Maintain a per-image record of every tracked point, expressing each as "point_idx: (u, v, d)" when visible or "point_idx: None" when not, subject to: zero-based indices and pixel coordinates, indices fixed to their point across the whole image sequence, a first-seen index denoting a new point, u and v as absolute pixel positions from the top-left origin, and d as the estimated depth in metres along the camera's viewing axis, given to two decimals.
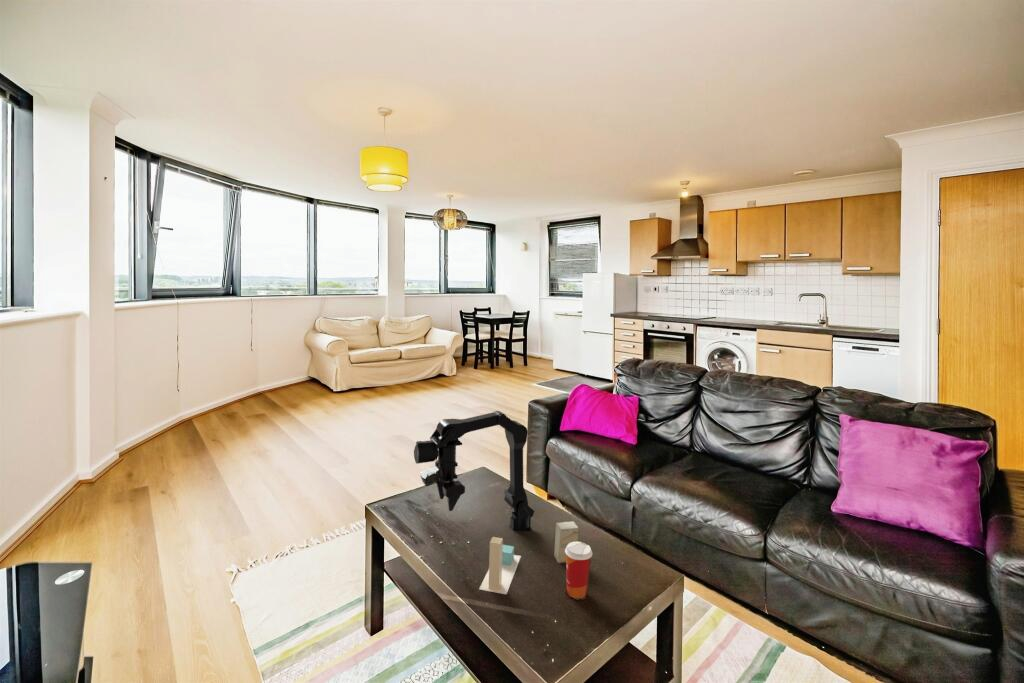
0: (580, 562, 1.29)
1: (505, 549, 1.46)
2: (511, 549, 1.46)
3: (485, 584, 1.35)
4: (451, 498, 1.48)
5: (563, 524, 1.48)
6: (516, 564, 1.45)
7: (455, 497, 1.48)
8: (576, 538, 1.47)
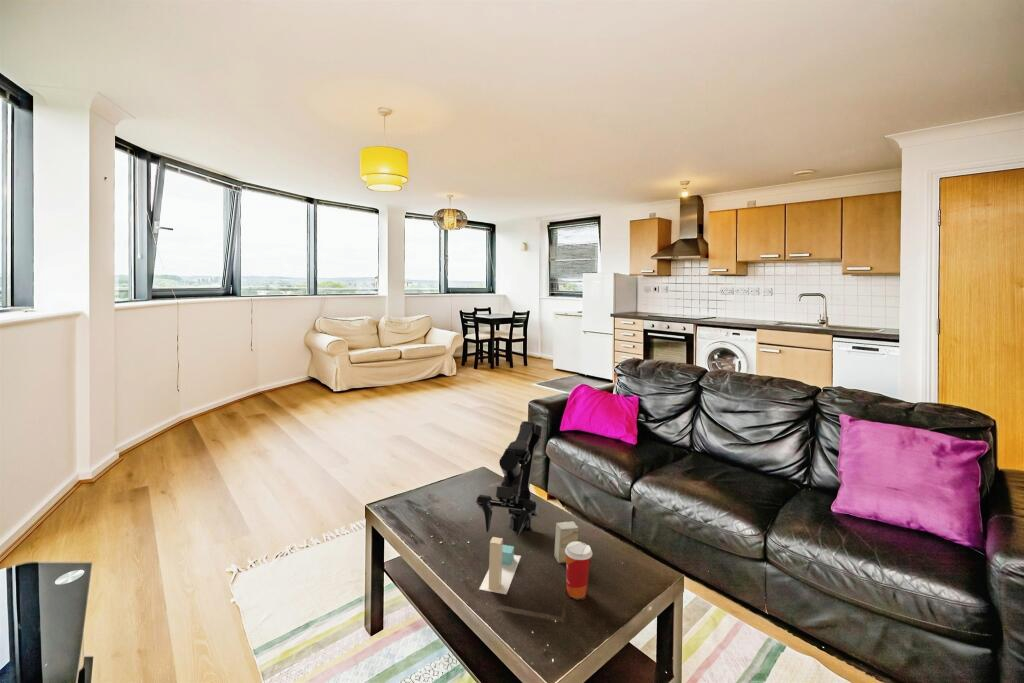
0: (580, 562, 1.29)
1: (505, 549, 1.46)
2: (511, 549, 1.46)
3: (485, 584, 1.35)
4: None
5: (563, 524, 1.48)
6: (516, 564, 1.45)
7: (524, 521, 1.41)
8: (576, 538, 1.47)
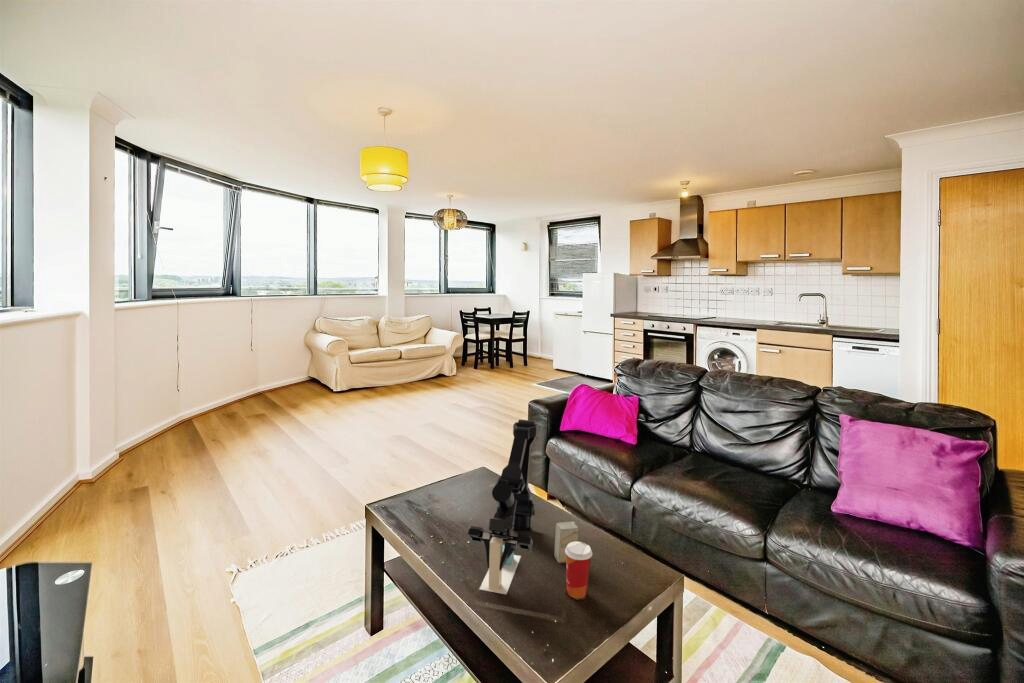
0: (580, 562, 1.29)
1: None
2: None
3: (485, 584, 1.35)
4: None
5: (563, 524, 1.48)
6: (516, 564, 1.45)
7: (508, 553, 1.35)
8: (576, 538, 1.47)
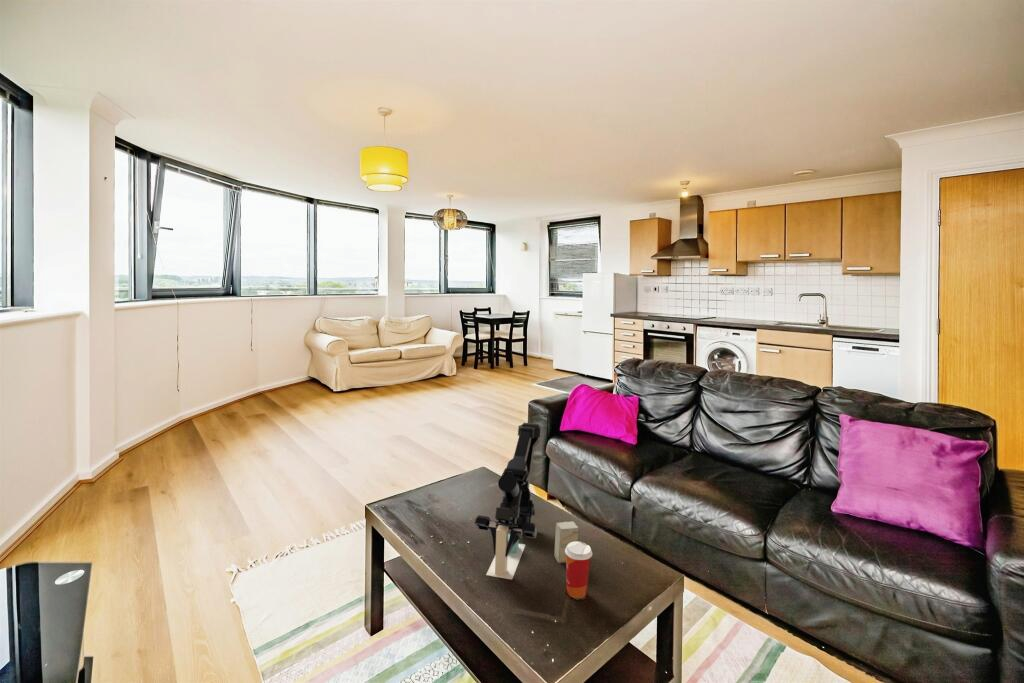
0: (580, 562, 1.29)
1: None
2: None
3: (492, 570, 1.41)
4: (512, 540, 1.41)
5: (563, 524, 1.48)
6: (521, 552, 1.52)
7: (514, 541, 1.42)
8: (576, 538, 1.47)
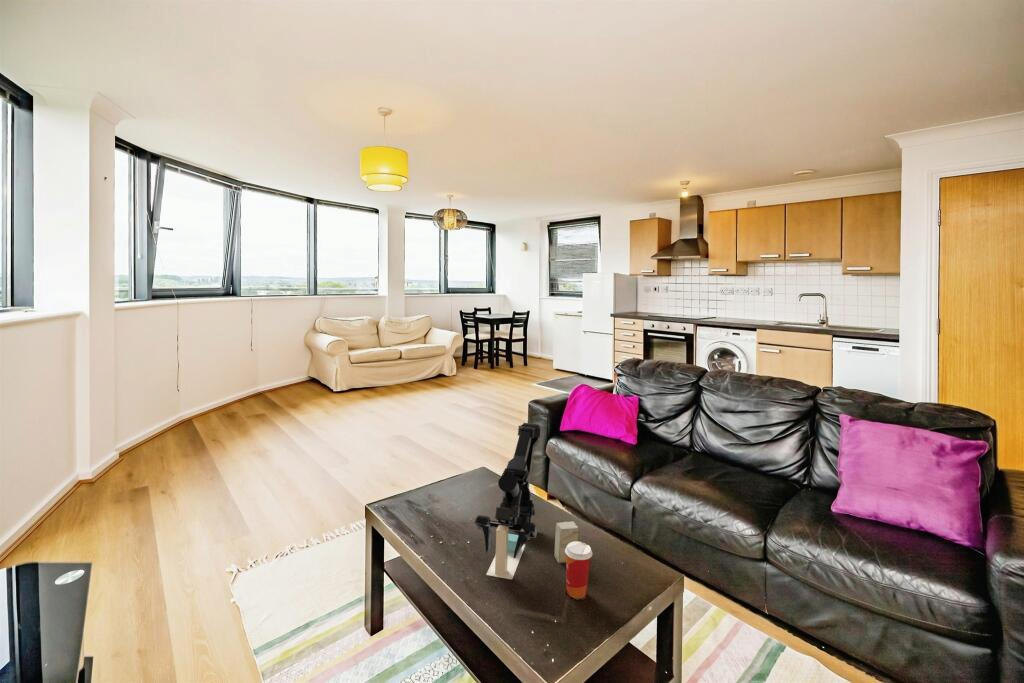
0: (580, 562, 1.29)
1: (510, 537, 1.53)
2: (516, 538, 1.53)
3: (492, 570, 1.41)
4: None
5: (563, 524, 1.48)
6: (521, 552, 1.52)
7: (522, 542, 1.41)
8: (576, 538, 1.47)
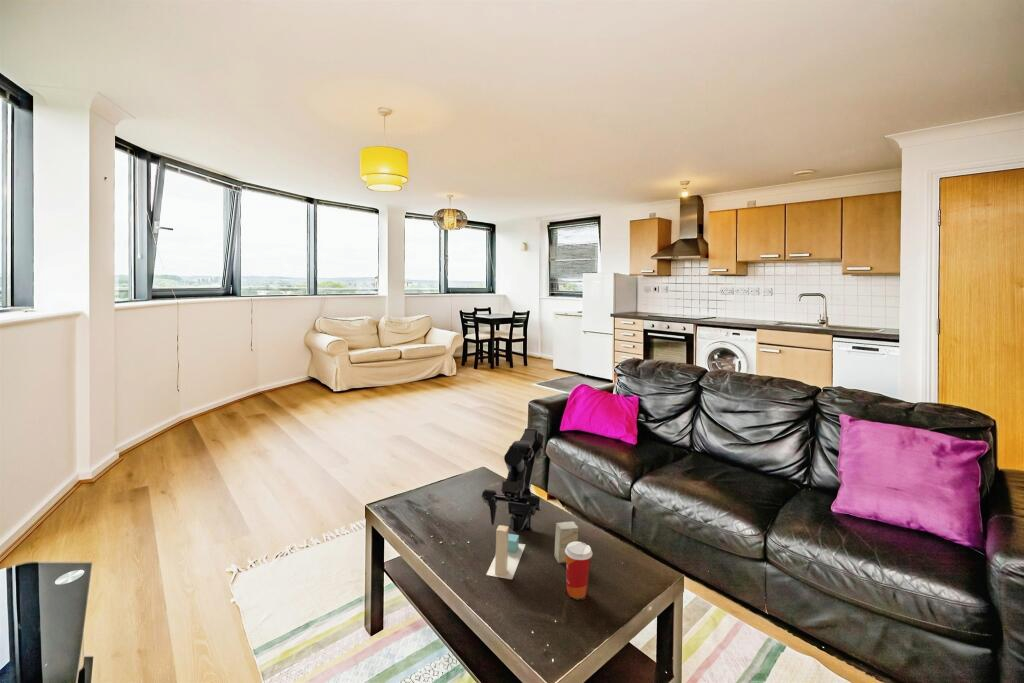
0: (580, 562, 1.29)
1: (510, 537, 1.53)
2: (516, 538, 1.53)
3: (492, 570, 1.41)
4: None
5: (563, 524, 1.48)
6: (521, 552, 1.52)
7: (528, 515, 1.47)
8: (576, 538, 1.47)
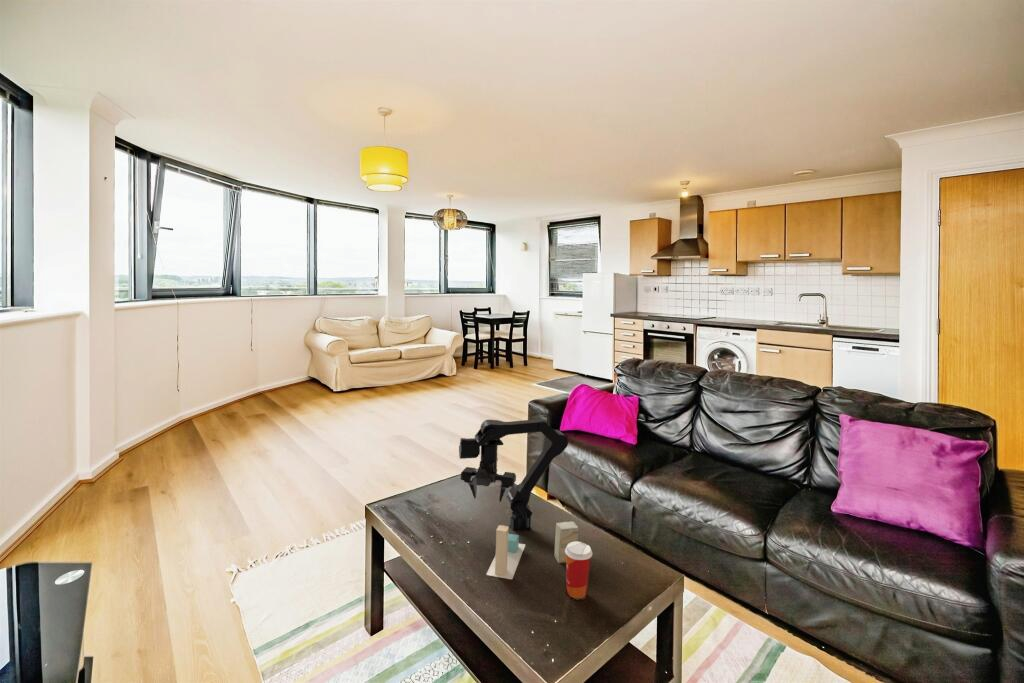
0: (580, 562, 1.29)
1: (510, 537, 1.53)
2: (516, 538, 1.53)
3: (492, 570, 1.41)
4: None
5: (563, 524, 1.48)
6: (521, 552, 1.52)
7: None
8: (576, 538, 1.47)
